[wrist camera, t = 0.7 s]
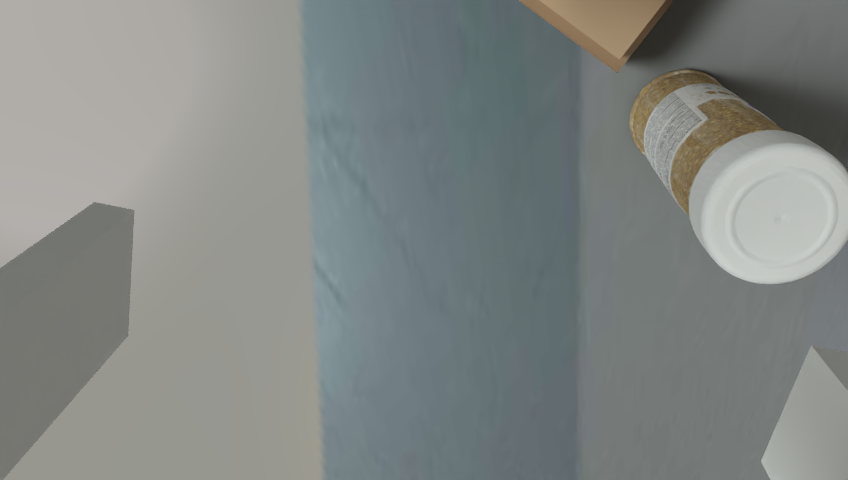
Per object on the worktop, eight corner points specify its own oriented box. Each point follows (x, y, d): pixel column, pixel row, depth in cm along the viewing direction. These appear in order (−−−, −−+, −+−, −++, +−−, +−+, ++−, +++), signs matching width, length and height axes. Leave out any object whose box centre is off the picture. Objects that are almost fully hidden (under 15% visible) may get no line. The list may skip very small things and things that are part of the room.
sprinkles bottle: (749, 98, 35) (897, 193, 22) (688, 182, 37) (794, 314, 24) (664, 47, 34) (768, 116, 22) (606, 135, 36) (672, 245, 24)
